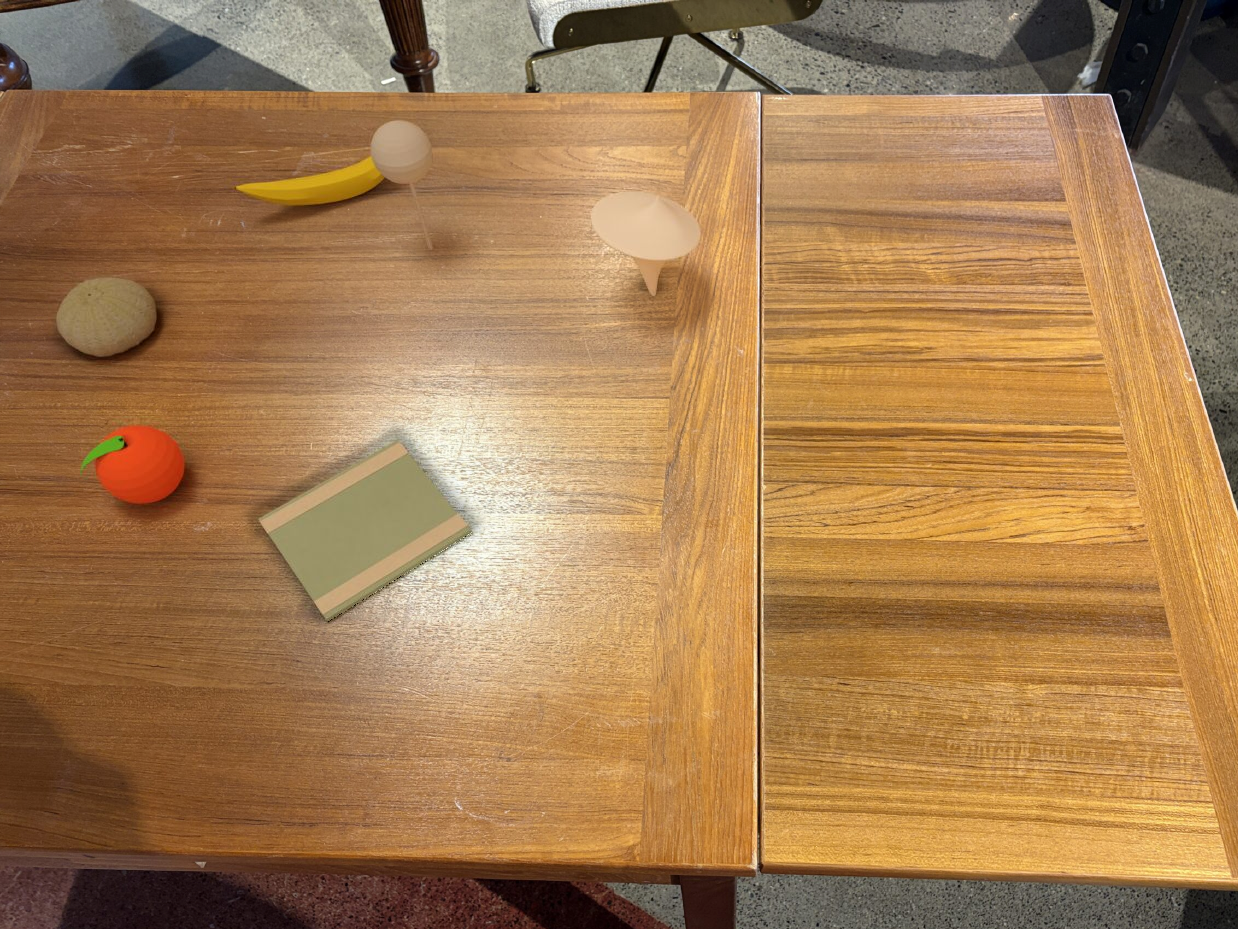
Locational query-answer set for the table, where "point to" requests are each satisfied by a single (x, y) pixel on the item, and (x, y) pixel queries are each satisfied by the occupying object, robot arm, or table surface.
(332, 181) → the banana
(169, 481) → the clementine
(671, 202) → the mushroom
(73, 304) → the sea urchin shell
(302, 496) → the towel
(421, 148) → the lollipop
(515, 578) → the table surface
